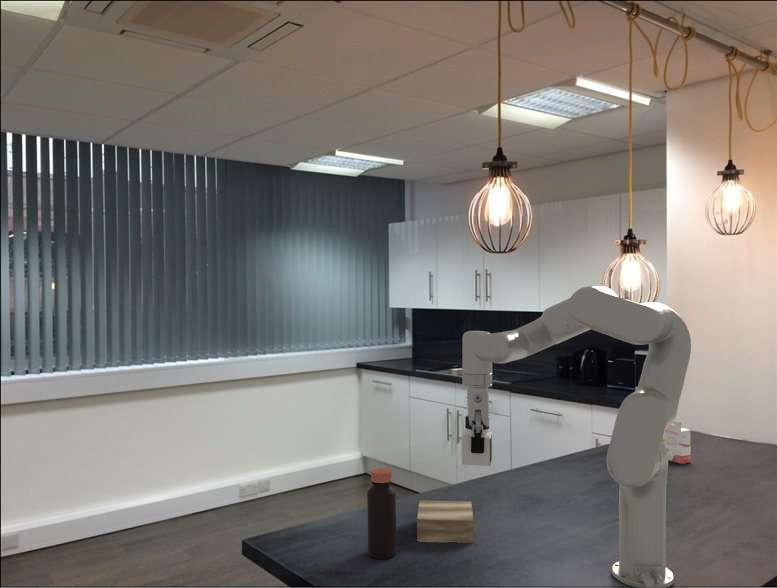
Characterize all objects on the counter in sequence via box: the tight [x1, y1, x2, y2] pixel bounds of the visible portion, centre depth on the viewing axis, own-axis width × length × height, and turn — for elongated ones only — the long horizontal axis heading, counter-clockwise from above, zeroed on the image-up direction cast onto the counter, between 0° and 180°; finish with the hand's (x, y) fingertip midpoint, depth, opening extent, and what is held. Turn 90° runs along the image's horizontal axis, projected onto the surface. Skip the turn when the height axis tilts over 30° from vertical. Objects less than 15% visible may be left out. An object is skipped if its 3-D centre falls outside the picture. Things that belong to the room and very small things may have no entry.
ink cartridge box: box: [662, 420, 692, 465], centre depth 231 cm, size 9×5×15 cm, turn 25°
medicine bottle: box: [461, 414, 493, 467], centre depth 165 cm, size 7×7×12 cm
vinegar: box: [366, 467, 397, 560], centre depth 155 cm, size 7×7×20 cm
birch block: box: [416, 499, 475, 544], centre depth 168 cm, size 14×14×6 cm
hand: (477, 448), depth 165 cm, fingers closed on medicine bottle, 7 cm apart
